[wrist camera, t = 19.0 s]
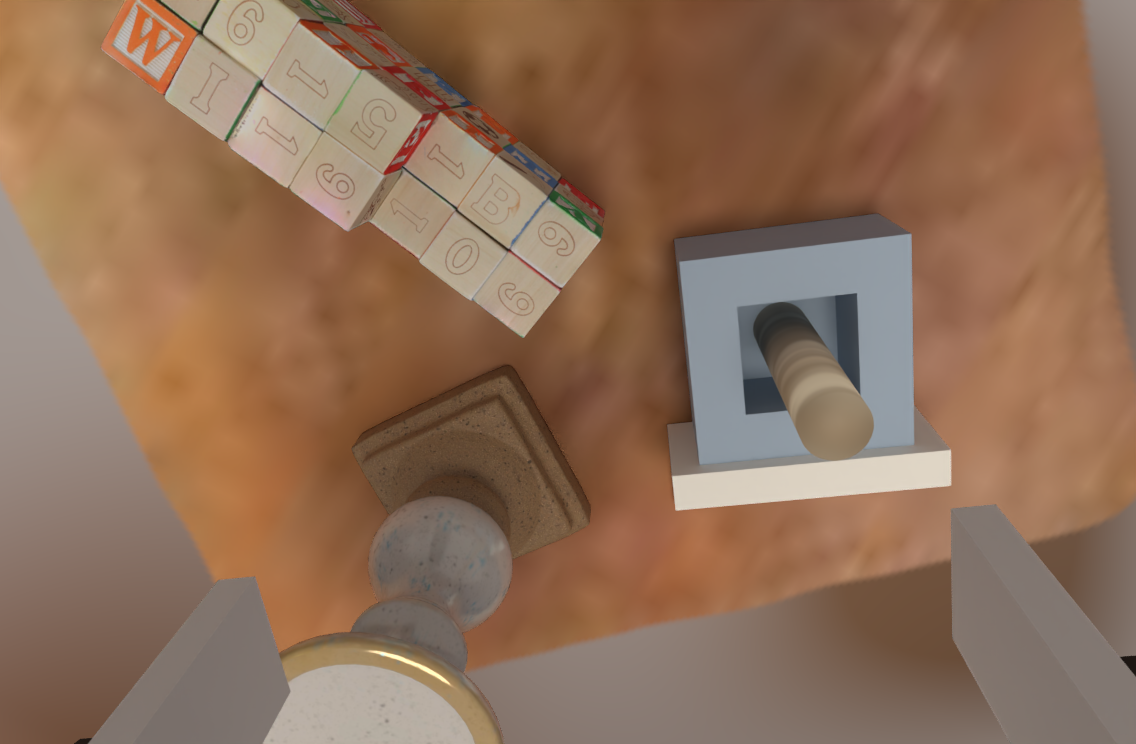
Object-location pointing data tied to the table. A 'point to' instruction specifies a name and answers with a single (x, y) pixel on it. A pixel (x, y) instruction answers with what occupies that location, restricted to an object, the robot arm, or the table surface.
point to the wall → (805, 472)
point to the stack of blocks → (368, 139)
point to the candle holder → (434, 569)
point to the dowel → (812, 384)
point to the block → (832, 305)
